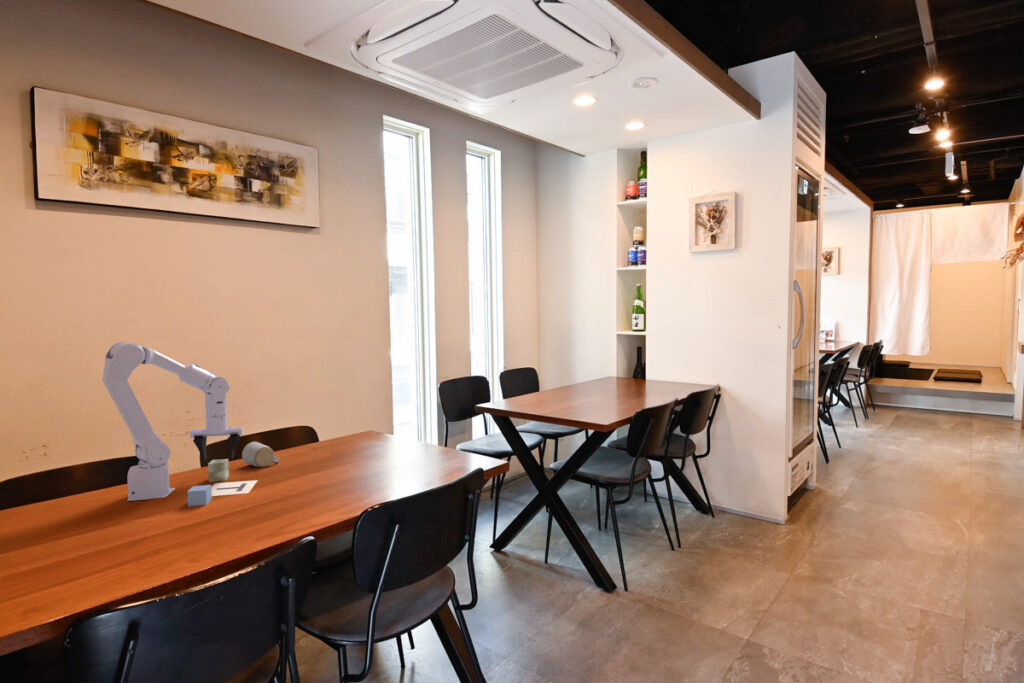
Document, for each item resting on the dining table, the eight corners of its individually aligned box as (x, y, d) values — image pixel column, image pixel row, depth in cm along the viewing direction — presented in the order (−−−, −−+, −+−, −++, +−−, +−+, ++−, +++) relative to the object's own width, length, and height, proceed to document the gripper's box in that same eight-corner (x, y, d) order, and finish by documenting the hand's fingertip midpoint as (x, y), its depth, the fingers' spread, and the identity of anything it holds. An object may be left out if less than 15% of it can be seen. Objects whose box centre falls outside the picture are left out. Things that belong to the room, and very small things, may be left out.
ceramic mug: (255, 470, 181) (254, 447, 181) (241, 466, 186) (241, 443, 186) (284, 463, 190) (284, 441, 190) (271, 459, 195) (270, 438, 194)
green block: (209, 483, 169) (208, 463, 168) (213, 479, 173) (212, 460, 173) (225, 482, 170) (224, 462, 170) (229, 477, 174) (228, 458, 174)
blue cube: (188, 508, 148) (187, 491, 148) (194, 502, 153) (193, 486, 152) (206, 506, 149) (205, 490, 149) (211, 500, 154) (211, 484, 153)
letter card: (202, 498, 156) (202, 496, 156) (215, 484, 167) (214, 483, 167) (248, 494, 158) (248, 493, 158) (257, 481, 170) (257, 480, 170)
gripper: (245, 411, 176) (246, 454, 177) (194, 414, 173) (196, 457, 174) (239, 416, 169) (241, 460, 170) (186, 418, 166) (188, 463, 167)
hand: (218, 459), depth 171 cm, fingers open, 7 cm apart
